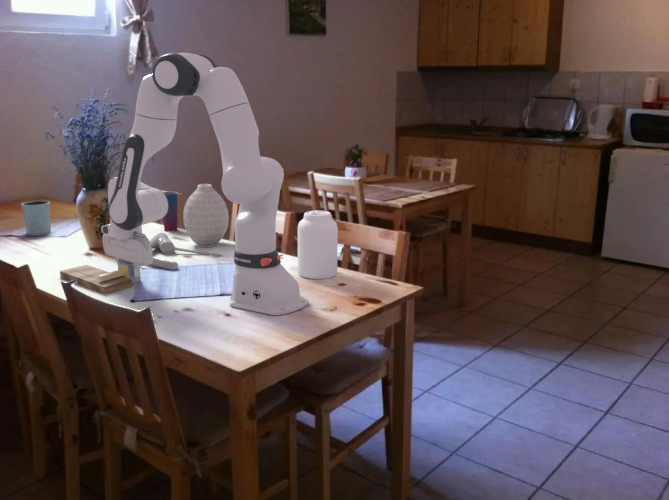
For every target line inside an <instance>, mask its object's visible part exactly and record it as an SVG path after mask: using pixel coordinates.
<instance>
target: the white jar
mask: <svg viewBox="0 0 669 500" xmlns="http://www.w3.org/2000/svg"><path fill="white" fill-rule="evenodd" d="M338 231H339V228H338V224H337V222H336V221H335V220H334V219H333V215H332V213H331V212H330V211H327V210H319V209H318V210H317V209H316V210H308V211H305V212H304V214H303V218H302V219H301V220H299V222H298V225H297V272H298V276H300V277H303V278H305V279H310V280H312V279H313V280H325V279H329V278H333V277H334V276H335V277H336V275H337V273H338V245H339V243H338V239H339V237H338V236H339V235H338V234H339V232H338Z"/></svg>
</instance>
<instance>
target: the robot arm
mask: <svg viewBox="0 0 669 500" xmlns="http://www.w3.org/2000/svg"><path fill="white" fill-rule="evenodd" d="M195 96H197V97H199V98H200V99H201V100H202V101H203V103H204V106H205V107H206V111H207V114H208V116H209V120H210V121H211V126H212V128H213V131H214V132H215V136H216V139H217V142H218V146H219V150H220V156H221V158H220V159H221V165H222V177H221V190H222V192H223V195H224V196H225V197H226V198H227V200H229V201H230V202H231V203H233V204H239V206H238V212H237V215H236V218H235V221H234V242H235V243H234V246H235V247H234V250H233V262H234V265H235V268H234V273H233V281H232V291H231V296H230V302H229V304H230V305H229V306H230V307H233V308H237V309H240V310H241V309H242V310H247V311H251V312H256V313H260V314H261V313H262V314H267V315H271V316H280V315H286V314H289V313H293V312H296V311H298V310H300V309H303V308H305V307H306V306H308V304H309V299H308V298H306V297H304V296H302V295H300V294H301V293H300V292H301V291H300V285H299V282H298V281H297V280H296V279H295V278H294V276H292V274H291V273H290V272H289V271H288V270H287V269H286V268H285V267H284V266H283V265H282V263H281V262H282V261H281V260H282V259H284V254H279V252H278V249H277V248H276V231H277V230H276V227H277V226H276V225H277V223H276V222H277V214H278V206H279V202H280V196H281V195H280V194H281V188H282V185H283V182H284V177H285V173H284V172H285V171H284V169H283V166H282V165H281V164H280V162H278V161H277V160H276V159H274V158H271V157H267V156H261V153H260V146H259V145H260V144H259V137H260V136H259V135H260V130H259V128H258V124H257V121H256V119H255V116H254V112H253V109H252V107H251V105H250V101H249V98H248V96H247V94H246V92H245V90H244V87H243V85H242V83H241V82H240V79H239V77H238V75H236V72H235V70H233V69H231V68H229V67H225V66H218V65H217V64H216V62H215V61H214V60H213V59H211V57H209V56H206V55H203V54H195V53H190V52H177V53H176V52H171V53H169V52H168V53H166V54H163V55H161V56H159V58H157V59H156V60H155V62H154V63H153V66H152V70H151V74H147V75H146V76H144V77H143V78H142V79H141V82H140V86H139V89H138V92H137V99H136V103H135V110H134V111H135V113H134V114H135V115H134V120H133V125H132V129H131V132H130V133H129V136H128V137H127V139H126V141H125V143H124V145H123V149H122V153H121V158H120V162H119V167H118V172H117V176H115V177H112V178H111V179H110V180H109V183H108V187H107V193H108V194H107V200H108V202H107V203H108V208H107V209H108V215H109V223H108V224H105V225H102V226H100V228H101V233H103V234H102V246H103V251H104V254H105V255H106V256H109V257H112V258H115V262H116V263H117V265H118V262H119V261H124V260H125V261H128V262H131V263H133V266H134V270H133V271H132V276H134V277H138V276H140V277H141V269H142V267H144V266H145V267H146V266H149V265H150V266H151V265H152V262H153V256H154V254H153V249H152V248H151V243H150V240H149V238H148V237H147V234H145V233H143V226H144V225H147V224H150V223H152V222H156V221H160V220H161V219H163V217H165V216H166V214H167V212H168V208H169V203H168V199H167V197H166V195H165V194H164V193H163V192H164V191H162V190H161V189H160V188H156V187H155V188H154V187H152V186H150V185H148V184H146V183H144V182H142V181H141V179H142V176H143V171H144V167H145V165H146V163H147V162H148V160H149V159H151V157H152V156H153V155H155V154H156V153H158V152H159V151H161V150H162V149H164V148H166V147H167V146H168V145H169V144H170V143H171V142H172V141H173V138H174V136H175V133H176V130H177V119H178V108H179V103H180V101H181V100H182V99H183V98H184V97H195Z"/></svg>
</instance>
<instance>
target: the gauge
mask: <svg viewBox="0 0 669 500" xmlns="http://www.w3.org/2000/svg"><path fill="white" fill-rule="evenodd" d="M133 270H134V266H133V263H131V262H128V261H125V260H124V261H119V262H118V264H117V270H114V271H108V272H109V273H105V274H101V275H98V280H99V281H105V280H108V279H112V278H116V277H120V276H122V277H124V278H127V279H130V280H132V284H135V283H138V282H141V275H140V276H138V277H134V276H132V271H133Z"/></svg>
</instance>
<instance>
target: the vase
mask: <svg viewBox="0 0 669 500" xmlns="http://www.w3.org/2000/svg"><path fill="white" fill-rule="evenodd" d="M182 213H183V214H182V218H183V219H182V221H183V226H184V229H185V232H186V233H187V236H188V237H189V238H190V240H192V242H193V243H194V244H195V245H197V247H201V248H209V247H210V248H212V247H214V246H216V245H218V243H220V242H221V241H222V239H223V237H224V236H225V234H226V231H227V229H228V227H229V210H228V206H227V204H226V201H225V200H224V198H223V197H222V196H221V195H220V194H219V193H218V191H216V190H215V189H214V188H213V185H212V184H210V183H200V184H198V185H197V188H196V189H195V190H194V191H193V192H192V193H191V194H190V195H189V197H188V198H187V200H186V202H185V204H184V208H183V212H182Z"/></svg>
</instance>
